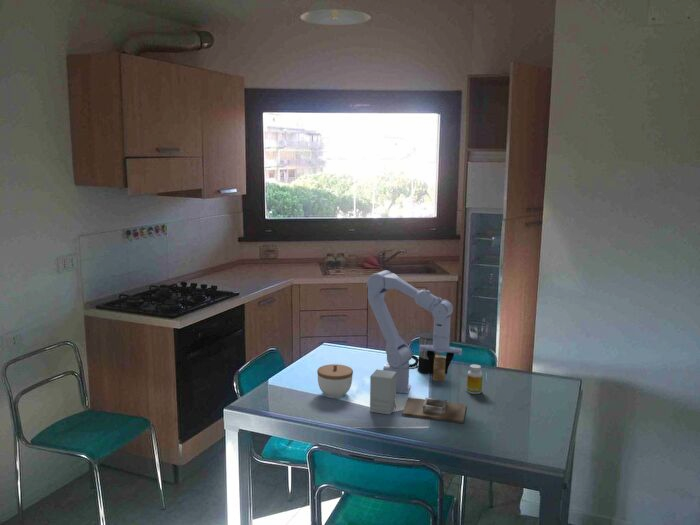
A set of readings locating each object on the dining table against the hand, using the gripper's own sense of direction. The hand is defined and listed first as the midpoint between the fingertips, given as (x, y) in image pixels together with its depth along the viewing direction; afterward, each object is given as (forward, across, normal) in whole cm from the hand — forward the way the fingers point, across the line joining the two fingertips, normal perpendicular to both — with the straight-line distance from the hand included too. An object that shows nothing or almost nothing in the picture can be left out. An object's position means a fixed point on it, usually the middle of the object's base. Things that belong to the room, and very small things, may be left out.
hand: (439, 372), depth 215 cm
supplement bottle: (+10, +12, +10) cm, 18 cm away
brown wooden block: (+2, 0, 0) cm, 2 cm away
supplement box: (+10, -17, -16) cm, 25 cm away
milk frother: (+10, -10, +29) cm, 32 cm away
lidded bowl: (+10, -36, -8) cm, 38 cm away
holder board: (+9, 0, -12) cm, 15 cm away
